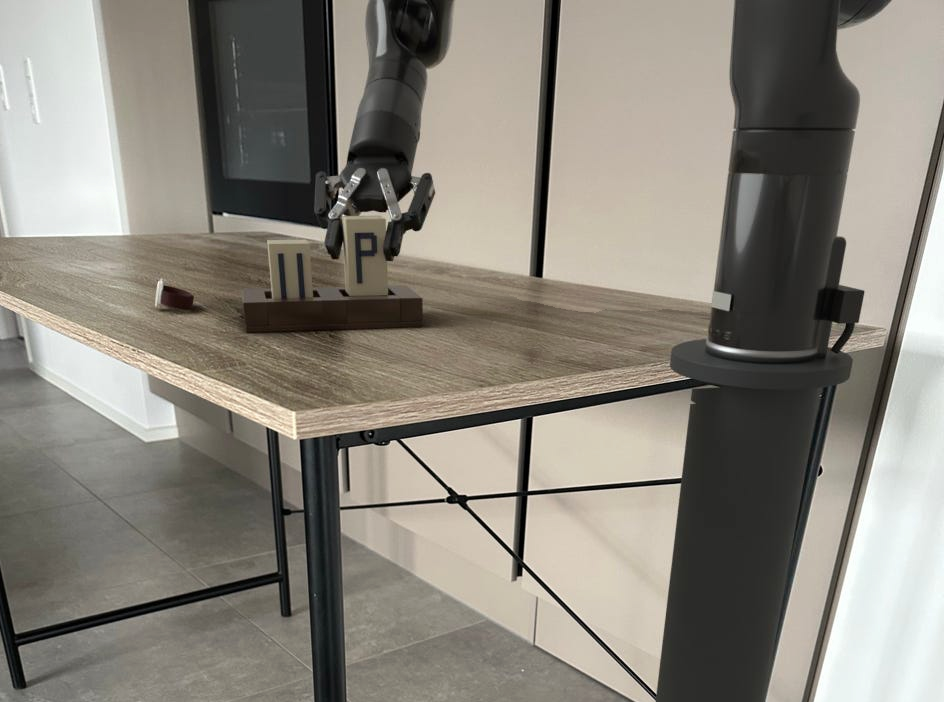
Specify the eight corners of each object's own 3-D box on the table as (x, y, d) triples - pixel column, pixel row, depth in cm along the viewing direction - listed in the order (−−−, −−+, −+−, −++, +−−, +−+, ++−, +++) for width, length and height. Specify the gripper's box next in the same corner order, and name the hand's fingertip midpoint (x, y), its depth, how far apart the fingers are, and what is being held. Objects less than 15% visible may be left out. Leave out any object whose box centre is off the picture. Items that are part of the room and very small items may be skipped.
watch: (153, 305, 118) (149, 274, 117) (192, 303, 120) (188, 273, 118) (158, 314, 112) (153, 282, 110) (198, 312, 113) (194, 280, 112)
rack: (407, 311, 115) (406, 284, 113) (423, 326, 105) (422, 297, 104) (244, 316, 111) (241, 288, 110) (245, 332, 102) (242, 302, 100)
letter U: (311, 313, 109) (306, 239, 106) (314, 320, 105) (309, 243, 102) (273, 314, 109) (267, 240, 105) (275, 321, 105) (268, 243, 101)
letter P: (382, 290, 110) (380, 215, 106) (388, 295, 106) (386, 218, 102) (345, 291, 109) (341, 215, 105) (349, 296, 105) (345, 219, 101)
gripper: (317, 107, 107) (288, 230, 102) (441, 107, 104) (416, 233, 99) (335, 159, 114) (308, 276, 109) (451, 160, 111) (429, 280, 106)
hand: (360, 255), depth 104 cm, fingers closed on letter P, 5 cm apart
